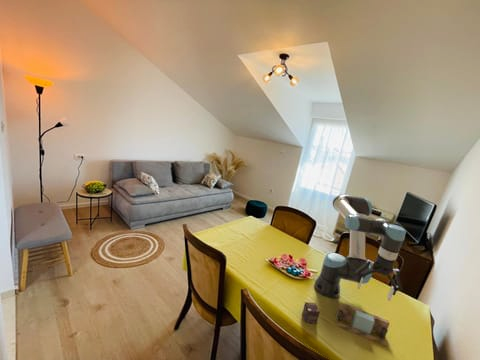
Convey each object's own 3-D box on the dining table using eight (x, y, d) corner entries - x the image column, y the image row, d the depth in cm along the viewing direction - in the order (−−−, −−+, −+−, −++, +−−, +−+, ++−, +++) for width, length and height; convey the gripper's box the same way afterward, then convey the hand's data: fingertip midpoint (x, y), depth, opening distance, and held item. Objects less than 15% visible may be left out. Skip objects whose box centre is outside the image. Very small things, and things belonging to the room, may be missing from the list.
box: (313, 314, 121) (316, 303, 120) (316, 324, 116) (320, 312, 114) (301, 313, 121) (305, 301, 119) (305, 322, 115) (308, 310, 114)
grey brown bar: (336, 325, 117) (340, 312, 115) (336, 314, 124) (340, 302, 122) (387, 346, 109) (392, 333, 107) (383, 333, 116) (388, 320, 115)
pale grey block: (351, 329, 116) (356, 315, 114) (351, 324, 119) (356, 310, 117) (369, 336, 113) (374, 321, 111) (368, 330, 116) (373, 316, 114)
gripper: (358, 251, 109) (346, 287, 115) (420, 270, 101) (403, 309, 106) (357, 244, 116) (346, 279, 122) (415, 262, 108) (400, 298, 113)
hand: (373, 293), depth 114 cm, fingers open, 13 cm apart
